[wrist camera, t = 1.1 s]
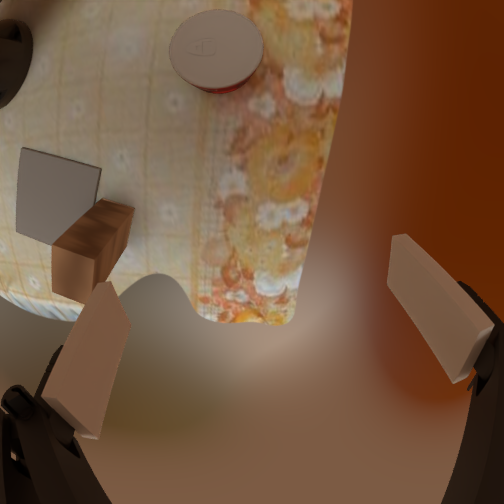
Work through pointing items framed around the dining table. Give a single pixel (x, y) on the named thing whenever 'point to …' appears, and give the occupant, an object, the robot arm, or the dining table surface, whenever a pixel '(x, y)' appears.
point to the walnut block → (90, 249)
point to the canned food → (216, 50)
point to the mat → (52, 194)
